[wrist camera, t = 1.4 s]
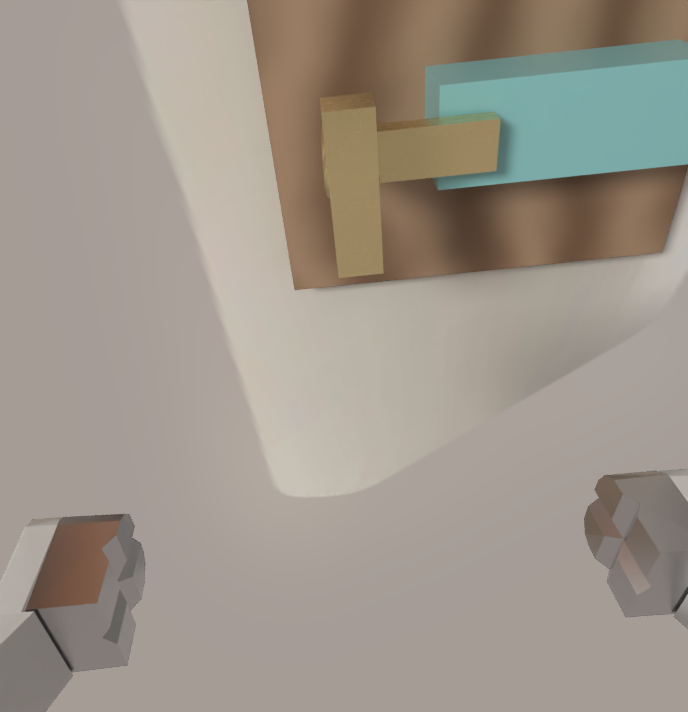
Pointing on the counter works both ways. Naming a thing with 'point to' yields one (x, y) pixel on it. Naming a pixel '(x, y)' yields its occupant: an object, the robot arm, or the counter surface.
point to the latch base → (407, 102)
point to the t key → (390, 166)
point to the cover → (571, 110)
